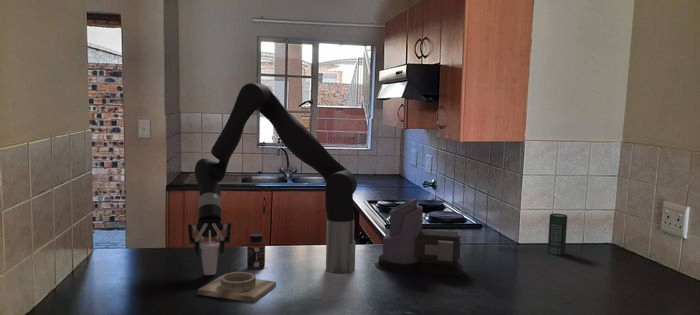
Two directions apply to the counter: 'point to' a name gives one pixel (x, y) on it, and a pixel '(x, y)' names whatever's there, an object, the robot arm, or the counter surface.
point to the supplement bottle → (256, 252)
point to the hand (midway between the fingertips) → (209, 253)
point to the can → (557, 234)
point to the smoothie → (209, 255)
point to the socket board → (239, 294)
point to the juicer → (418, 245)
